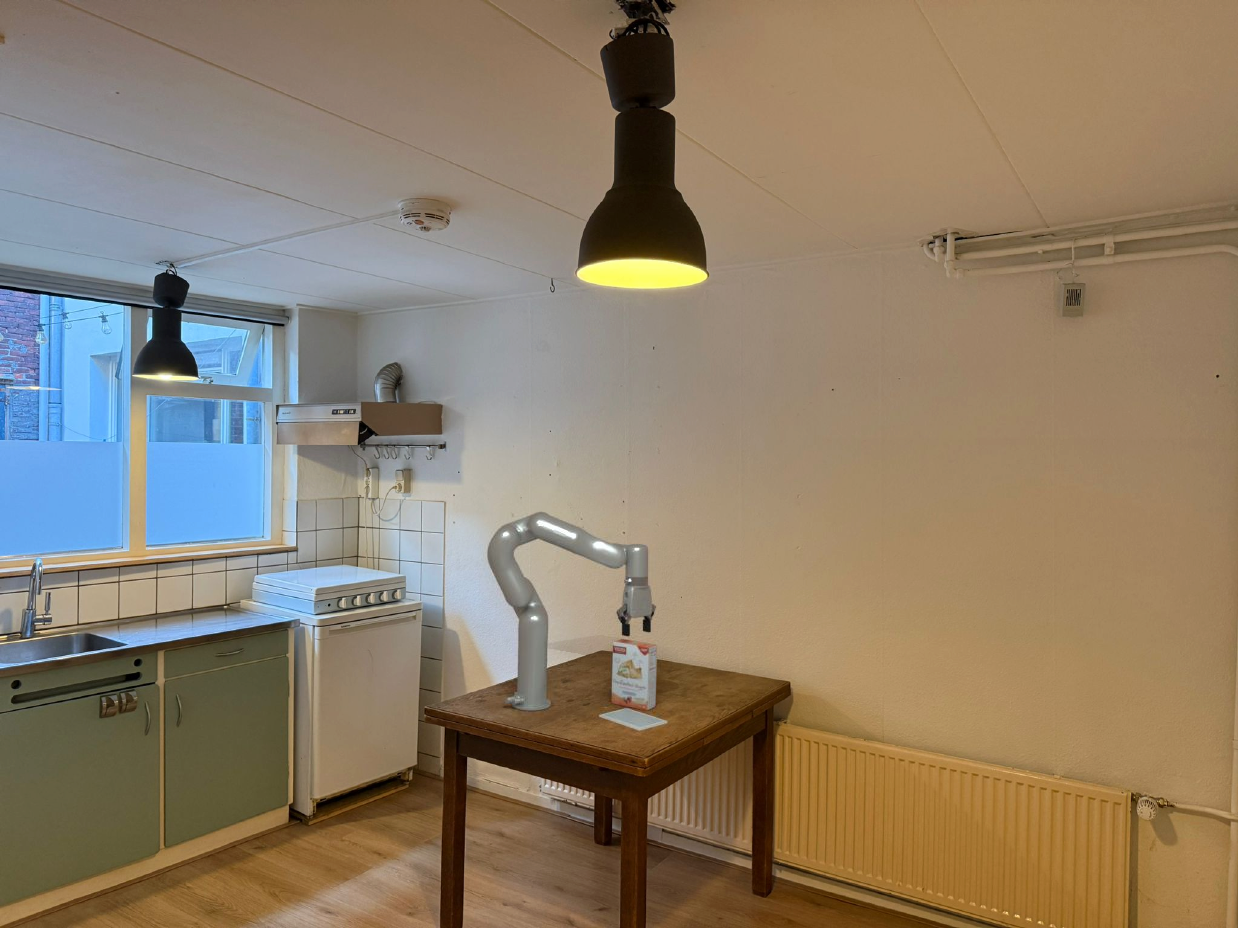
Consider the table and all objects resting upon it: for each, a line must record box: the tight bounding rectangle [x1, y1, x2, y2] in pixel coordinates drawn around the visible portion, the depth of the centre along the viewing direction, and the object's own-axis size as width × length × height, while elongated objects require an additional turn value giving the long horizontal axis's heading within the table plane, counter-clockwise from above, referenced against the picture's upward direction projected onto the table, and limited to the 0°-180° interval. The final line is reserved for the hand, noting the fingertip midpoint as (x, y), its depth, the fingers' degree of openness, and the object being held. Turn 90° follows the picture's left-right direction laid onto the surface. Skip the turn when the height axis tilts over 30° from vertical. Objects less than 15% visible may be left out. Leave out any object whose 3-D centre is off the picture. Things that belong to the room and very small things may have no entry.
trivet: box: [599, 707, 668, 732], centre depth 256 cm, size 12×18×1 cm, turn 44°
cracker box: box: [611, 638, 658, 711], centre depth 272 cm, size 14×6×21 cm, turn 58°
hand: (636, 633), depth 272 cm, fingers open, 9 cm apart
